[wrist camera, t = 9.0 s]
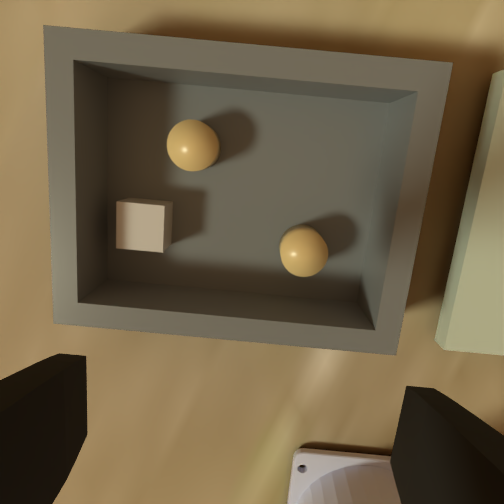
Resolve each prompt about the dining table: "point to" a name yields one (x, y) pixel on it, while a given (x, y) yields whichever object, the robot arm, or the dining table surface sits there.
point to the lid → (479, 245)
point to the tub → (236, 187)
